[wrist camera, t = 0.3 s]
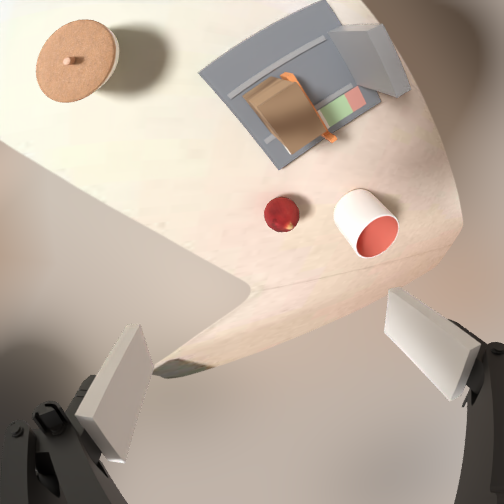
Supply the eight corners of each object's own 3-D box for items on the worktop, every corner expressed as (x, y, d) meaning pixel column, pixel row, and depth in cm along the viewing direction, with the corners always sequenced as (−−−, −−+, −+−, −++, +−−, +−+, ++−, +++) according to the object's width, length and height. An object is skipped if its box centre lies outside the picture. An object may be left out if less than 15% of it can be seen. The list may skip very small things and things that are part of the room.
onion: (276, 221, 51) (290, 248, 46) (253, 208, 48) (264, 235, 42) (296, 199, 49) (314, 224, 43) (274, 183, 46) (289, 207, 40)
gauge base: (197, 72, 31) (202, 77, 23) (320, 0, 26) (363, -10, 17) (275, 166, 44) (301, 201, 35) (375, 99, 38) (420, 118, 30)
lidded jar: (52, 90, 26) (21, 102, 19) (72, 23, 20) (44, 17, 13) (114, 98, 30) (95, 110, 24) (138, 29, 25) (124, 21, 18)
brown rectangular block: (240, 95, 33) (257, 107, 26) (271, 75, 32) (296, 82, 25) (269, 132, 38) (292, 154, 31) (297, 113, 37) (326, 130, 30)
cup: (328, 231, 56) (350, 263, 49) (333, 189, 49) (360, 219, 42) (368, 223, 57) (392, 252, 50) (375, 184, 51) (404, 210, 43)
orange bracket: (279, 75, 32) (292, 78, 28) (285, 71, 32) (298, 74, 28) (317, 132, 39) (331, 143, 35) (322, 129, 39) (337, 139, 35)
